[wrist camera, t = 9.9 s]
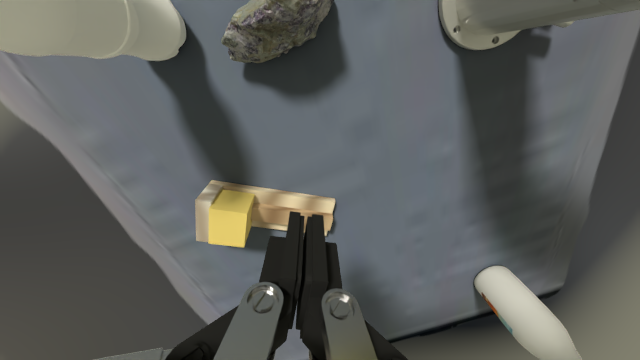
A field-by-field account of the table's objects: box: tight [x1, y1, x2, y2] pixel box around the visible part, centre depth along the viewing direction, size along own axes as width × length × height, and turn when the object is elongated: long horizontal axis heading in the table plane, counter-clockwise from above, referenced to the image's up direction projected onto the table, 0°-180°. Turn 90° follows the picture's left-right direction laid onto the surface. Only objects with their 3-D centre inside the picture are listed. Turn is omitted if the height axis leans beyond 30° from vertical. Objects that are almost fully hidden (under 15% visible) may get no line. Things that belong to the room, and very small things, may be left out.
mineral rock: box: [221, 0, 334, 63], centre depth 24 cm, size 13×11×10 cm
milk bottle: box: [474, 265, 583, 360], centre depth 42 cm, size 8×8×20 cm
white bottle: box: [0, 0, 186, 61], centre depth 17 cm, size 7×7×25 cm
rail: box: [195, 180, 335, 242], centre depth 37 cm, size 20×7×6 cm, turn 78°
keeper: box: [208, 189, 255, 247], centre depth 35 cm, size 5×6×6 cm
